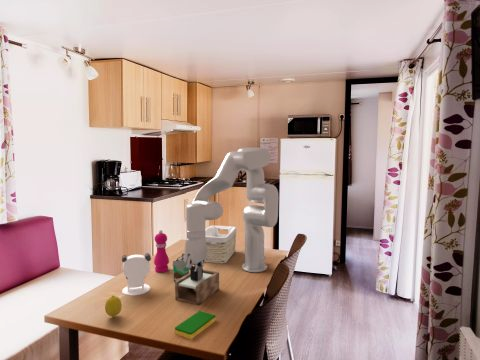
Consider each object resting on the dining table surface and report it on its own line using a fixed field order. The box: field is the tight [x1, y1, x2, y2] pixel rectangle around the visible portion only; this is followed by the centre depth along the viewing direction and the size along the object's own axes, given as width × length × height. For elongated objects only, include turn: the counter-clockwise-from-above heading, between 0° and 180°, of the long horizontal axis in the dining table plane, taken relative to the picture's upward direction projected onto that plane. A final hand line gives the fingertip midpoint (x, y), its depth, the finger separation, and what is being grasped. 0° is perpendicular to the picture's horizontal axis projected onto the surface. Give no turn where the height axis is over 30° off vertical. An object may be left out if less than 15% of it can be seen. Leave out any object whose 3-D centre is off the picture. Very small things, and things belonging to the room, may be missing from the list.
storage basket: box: [204, 225, 237, 264], centre depth 191 cm, size 24×16×15 cm
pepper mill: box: [153, 230, 170, 273], centre depth 170 cm, size 7×7×20 cm
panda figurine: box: [121, 252, 152, 297], centre depth 148 cm, size 12×11×15 cm
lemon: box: [104, 295, 123, 318], centre depth 124 cm, size 6×6×8 cm
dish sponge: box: [174, 310, 216, 340], centre depth 118 cm, size 7×14×2 cm, turn 150°
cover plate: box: [179, 266, 212, 289], centre depth 142 cm, size 14×8×6 cm, turn 155°
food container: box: [172, 252, 190, 283], centre depth 160 cm, size 12×6×10 cm, turn 168°
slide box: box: [174, 269, 220, 306], centre depth 143 cm, size 16×11×8 cm
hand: (196, 278), depth 142 cm, fingers closed on cover plate, 3 cm apart
